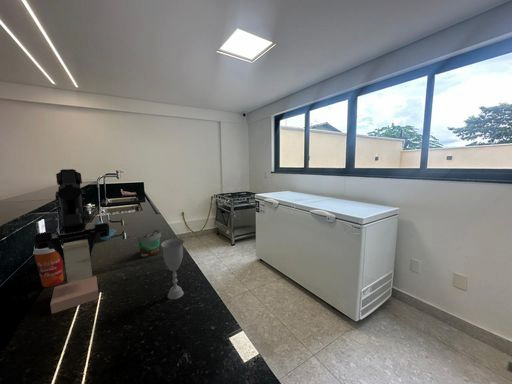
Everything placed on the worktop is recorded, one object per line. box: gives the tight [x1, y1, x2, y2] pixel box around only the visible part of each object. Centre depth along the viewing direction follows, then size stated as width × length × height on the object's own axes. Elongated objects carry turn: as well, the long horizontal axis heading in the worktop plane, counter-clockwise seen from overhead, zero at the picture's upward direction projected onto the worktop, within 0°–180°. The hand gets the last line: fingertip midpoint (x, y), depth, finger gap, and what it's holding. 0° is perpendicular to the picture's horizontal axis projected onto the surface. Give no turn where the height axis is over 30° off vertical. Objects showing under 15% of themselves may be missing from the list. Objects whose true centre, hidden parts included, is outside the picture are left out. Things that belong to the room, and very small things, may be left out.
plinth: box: [50, 275, 99, 314], centre depth 69 cm, size 11×11×3 cm
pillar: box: [62, 239, 93, 283], centre depth 69 cm, size 6×6×11 cm
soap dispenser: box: [93, 220, 117, 241], centre depth 122 cm, size 18×10×9 cm, turn 53°
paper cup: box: [32, 245, 64, 288], centre depth 77 cm, size 8×8×14 cm
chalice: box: [160, 238, 185, 300], centre depth 70 cm, size 7×7×18 cm
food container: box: [137, 229, 162, 259], centre depth 101 cm, size 12×6×10 cm, turn 168°
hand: (77, 258), depth 67 cm, fingers closed on pillar, 6 cm apart
